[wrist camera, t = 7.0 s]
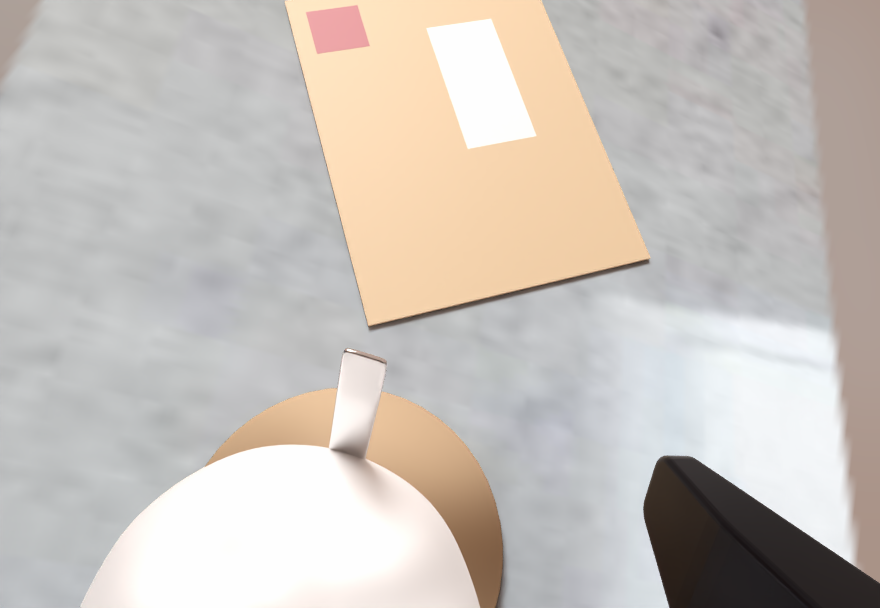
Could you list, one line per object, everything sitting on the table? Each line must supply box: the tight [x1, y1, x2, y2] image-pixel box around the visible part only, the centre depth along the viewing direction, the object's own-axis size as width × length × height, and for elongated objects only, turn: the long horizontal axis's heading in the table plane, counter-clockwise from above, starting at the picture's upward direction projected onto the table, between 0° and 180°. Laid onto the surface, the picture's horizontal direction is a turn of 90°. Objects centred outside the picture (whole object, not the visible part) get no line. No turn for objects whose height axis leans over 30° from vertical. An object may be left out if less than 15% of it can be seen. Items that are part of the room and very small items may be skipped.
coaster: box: [205, 388, 503, 608], centre depth 14 cm, size 8×8×1 cm
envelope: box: [285, 0, 650, 327], centre depth 19 cm, size 12×9×1 cm
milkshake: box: [80, 348, 480, 608], centre depth 9 cm, size 4×5×10 cm
